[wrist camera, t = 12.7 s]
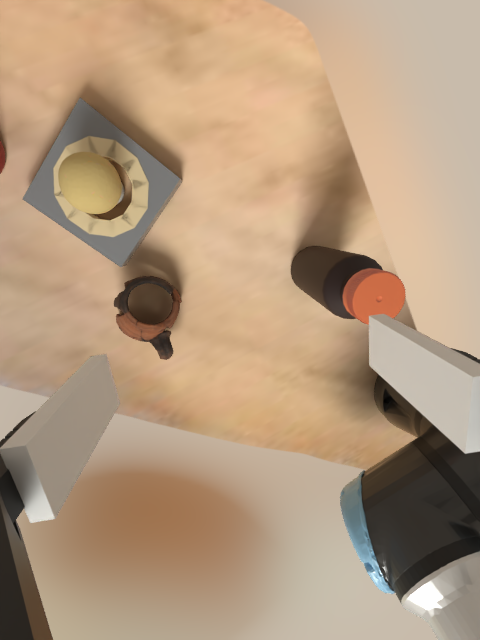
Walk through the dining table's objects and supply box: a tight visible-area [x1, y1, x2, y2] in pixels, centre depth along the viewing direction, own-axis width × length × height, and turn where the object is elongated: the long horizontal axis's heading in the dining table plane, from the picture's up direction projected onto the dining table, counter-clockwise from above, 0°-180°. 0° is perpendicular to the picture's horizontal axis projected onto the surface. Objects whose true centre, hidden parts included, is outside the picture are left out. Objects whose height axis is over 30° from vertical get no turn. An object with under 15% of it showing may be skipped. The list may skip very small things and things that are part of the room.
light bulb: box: [58, 152, 124, 214], centre depth 37 cm, size 6×6×10 cm
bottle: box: [291, 246, 406, 325], centre depth 37 cm, size 7×7×20 cm
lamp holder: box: [23, 98, 182, 267], centre depth 40 cm, size 14×14×3 cm
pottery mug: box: [114, 276, 182, 360], centre depth 44 cm, size 12×10×8 cm
